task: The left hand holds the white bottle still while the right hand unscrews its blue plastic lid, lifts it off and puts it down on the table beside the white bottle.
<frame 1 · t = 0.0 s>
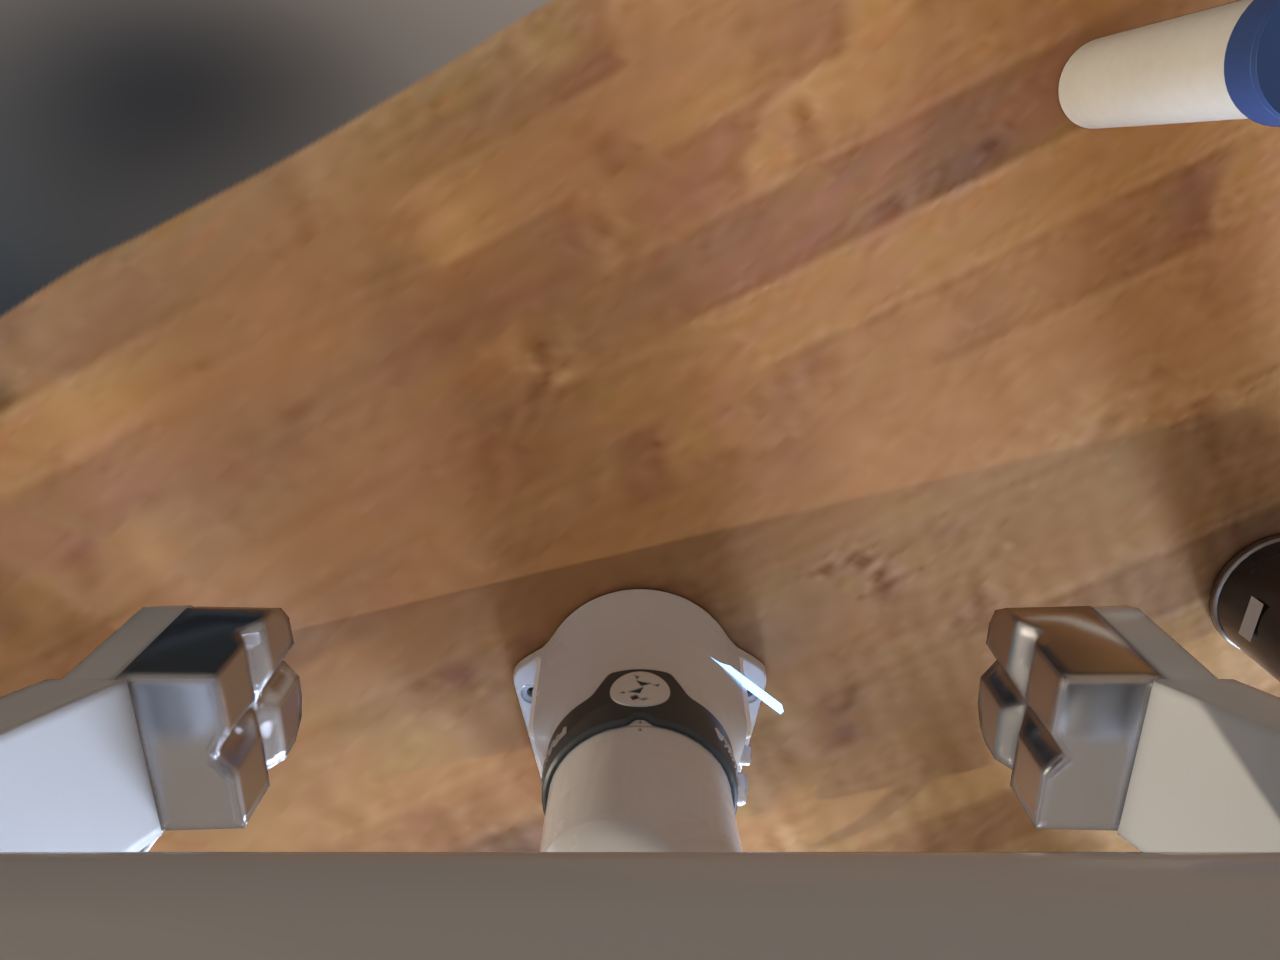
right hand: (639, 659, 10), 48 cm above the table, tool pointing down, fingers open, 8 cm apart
white bottle: (1100, 83, 52), on the table
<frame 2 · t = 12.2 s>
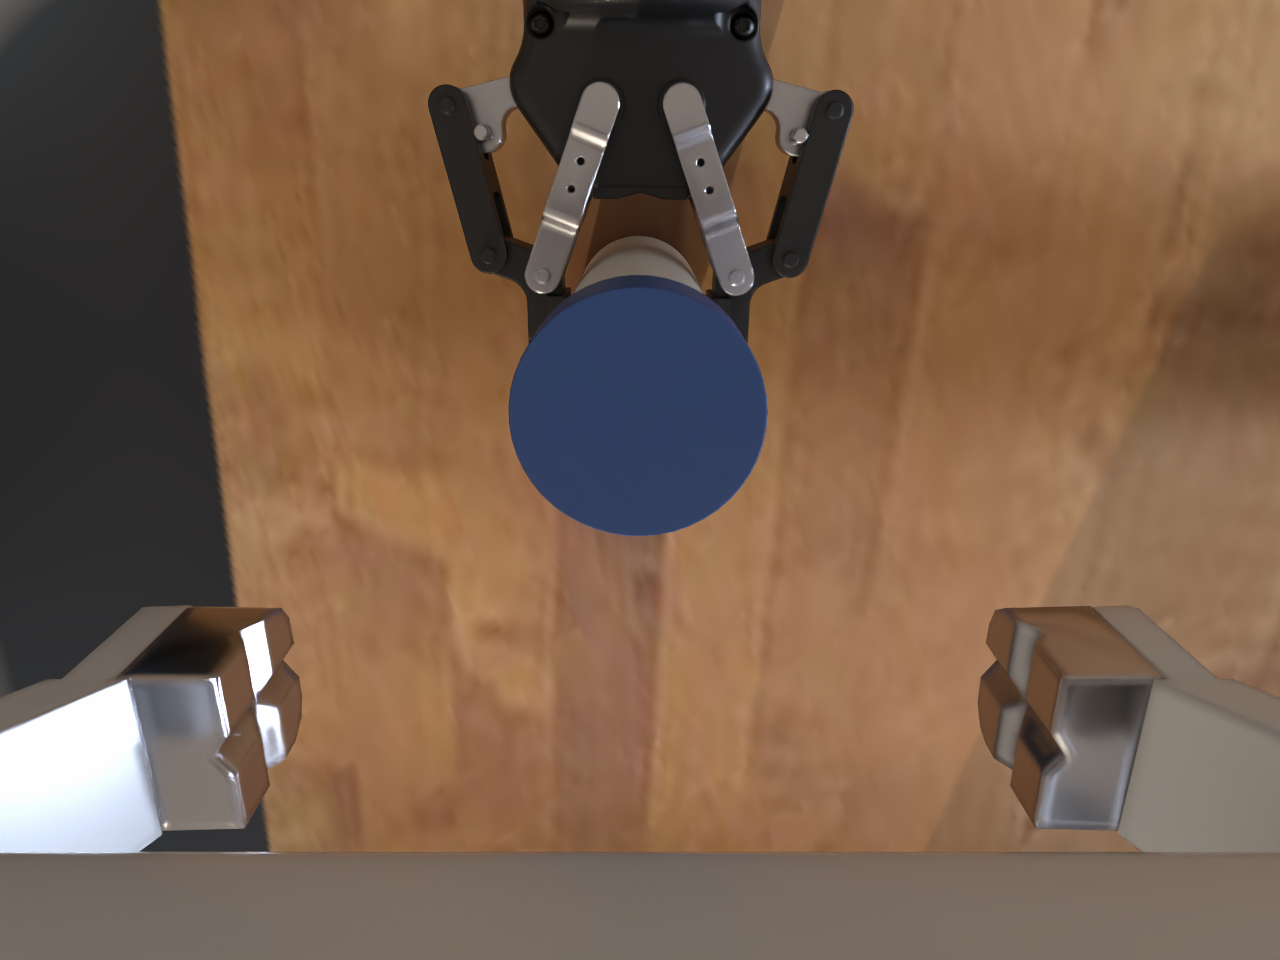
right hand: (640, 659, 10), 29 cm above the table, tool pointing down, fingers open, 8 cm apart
left hand: (638, 392, 32), fingers closed on white bottle, 5 cm apart
white bottle: (638, 296, 37), on the table, touching left hand
lid: (638, 413, 20), point 18 cm above the table, screwed on, not yet turned
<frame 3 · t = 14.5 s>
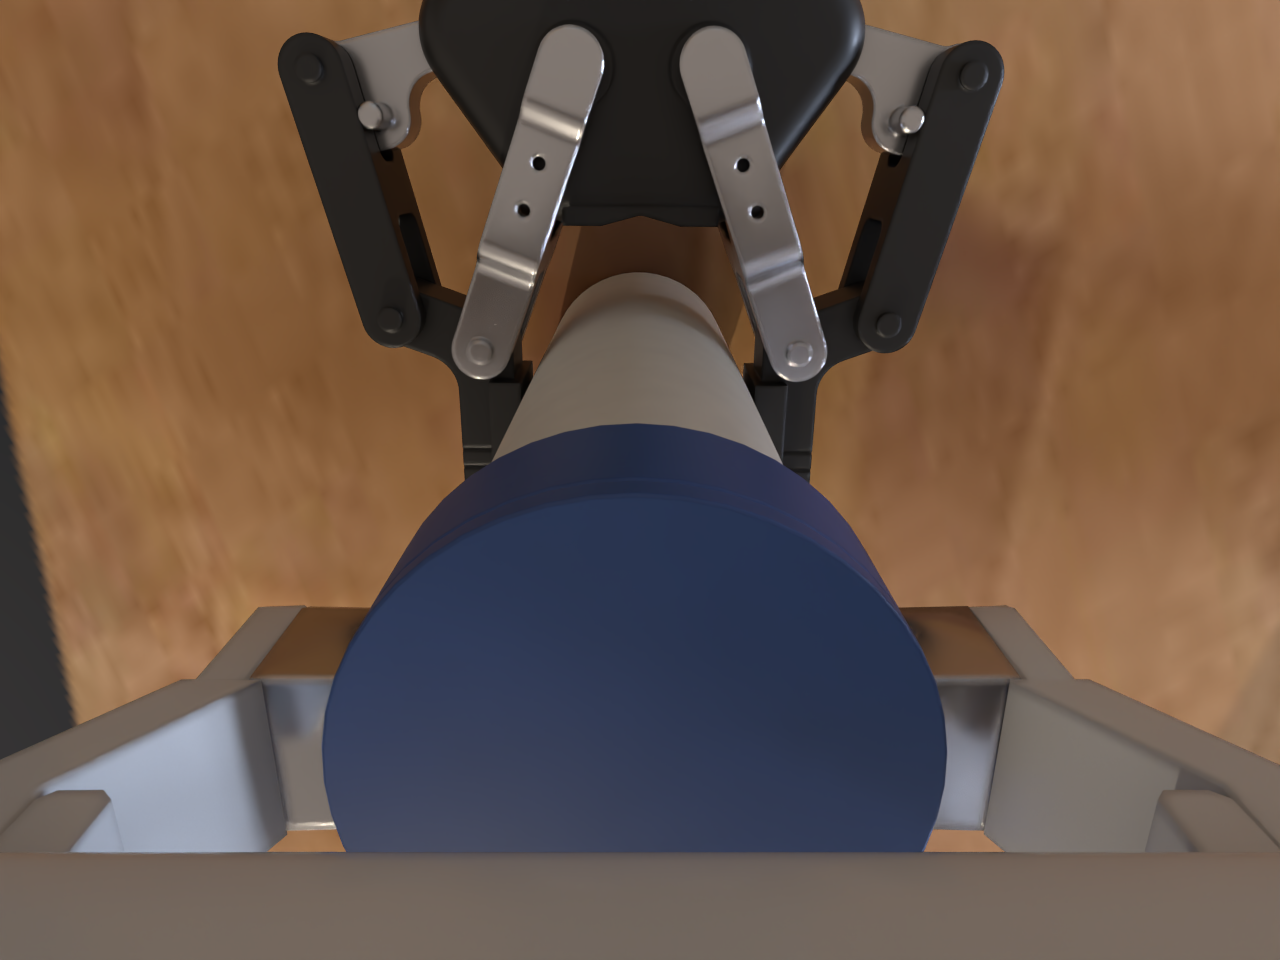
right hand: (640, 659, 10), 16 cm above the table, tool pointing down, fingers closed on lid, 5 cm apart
left hand: (638, 522, 21), fingers closed on white bottle, 5 cm apart
white bottle: (638, 359, 26), on the table, touching left hand
lid: (634, 760, 9), point 18 cm above the table, screwed on, not yet turned, touching right hand
when the right hand's fingers open (17 cm above the table, at t = 16.0 s): lid stays where it is, point 18 cm above the table.
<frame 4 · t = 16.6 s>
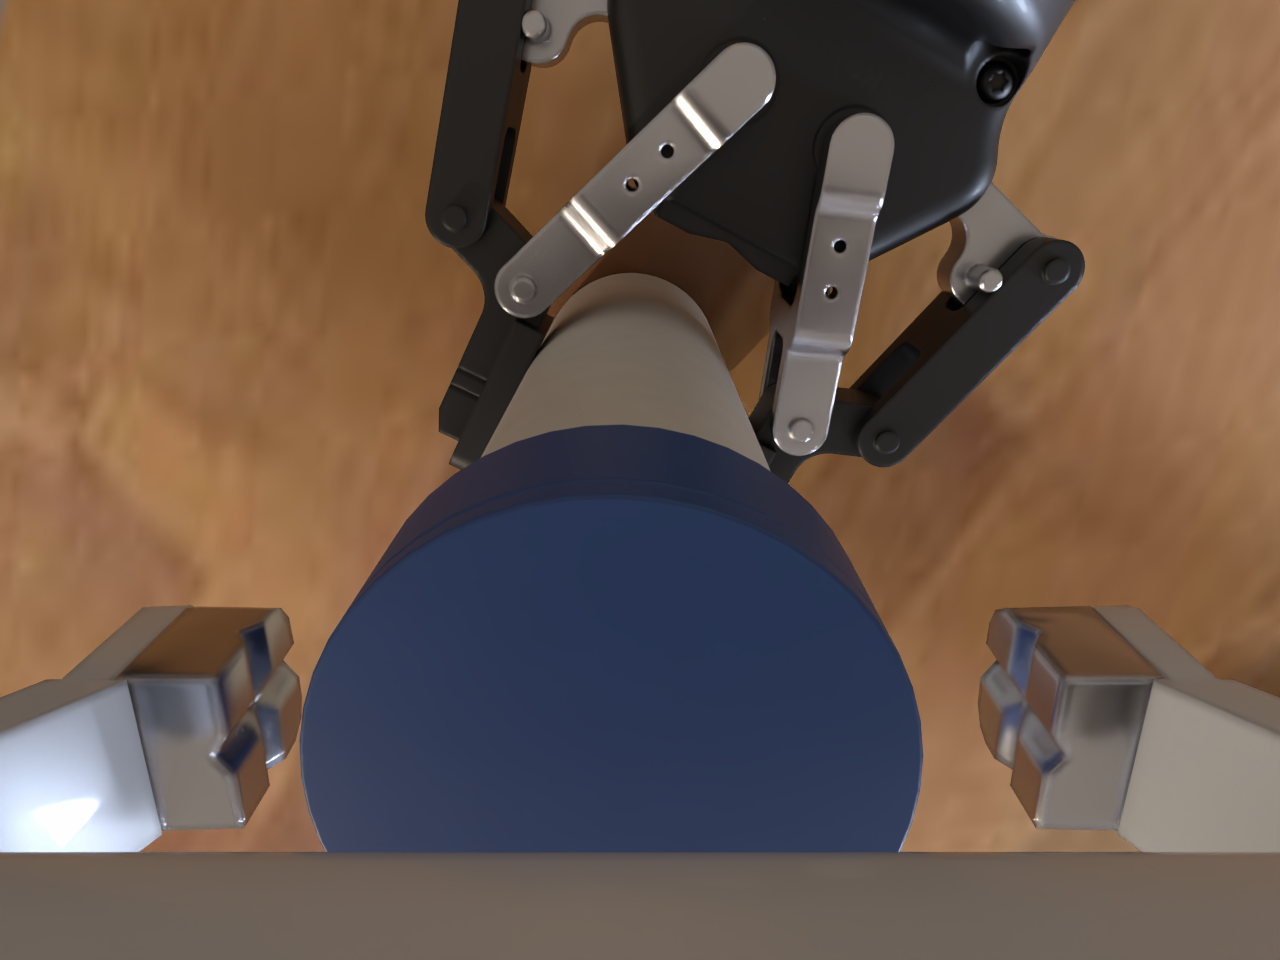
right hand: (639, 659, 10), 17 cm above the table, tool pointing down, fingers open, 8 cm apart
left hand: (580, 509, 21), fingers closed on white bottle, 5 cm apart
white bottle: (630, 358, 26), on the table, touching left hand
lid: (612, 760, 9), point 18 cm above the table, turned 75° so far, risen 0.2 cm, still on its thread
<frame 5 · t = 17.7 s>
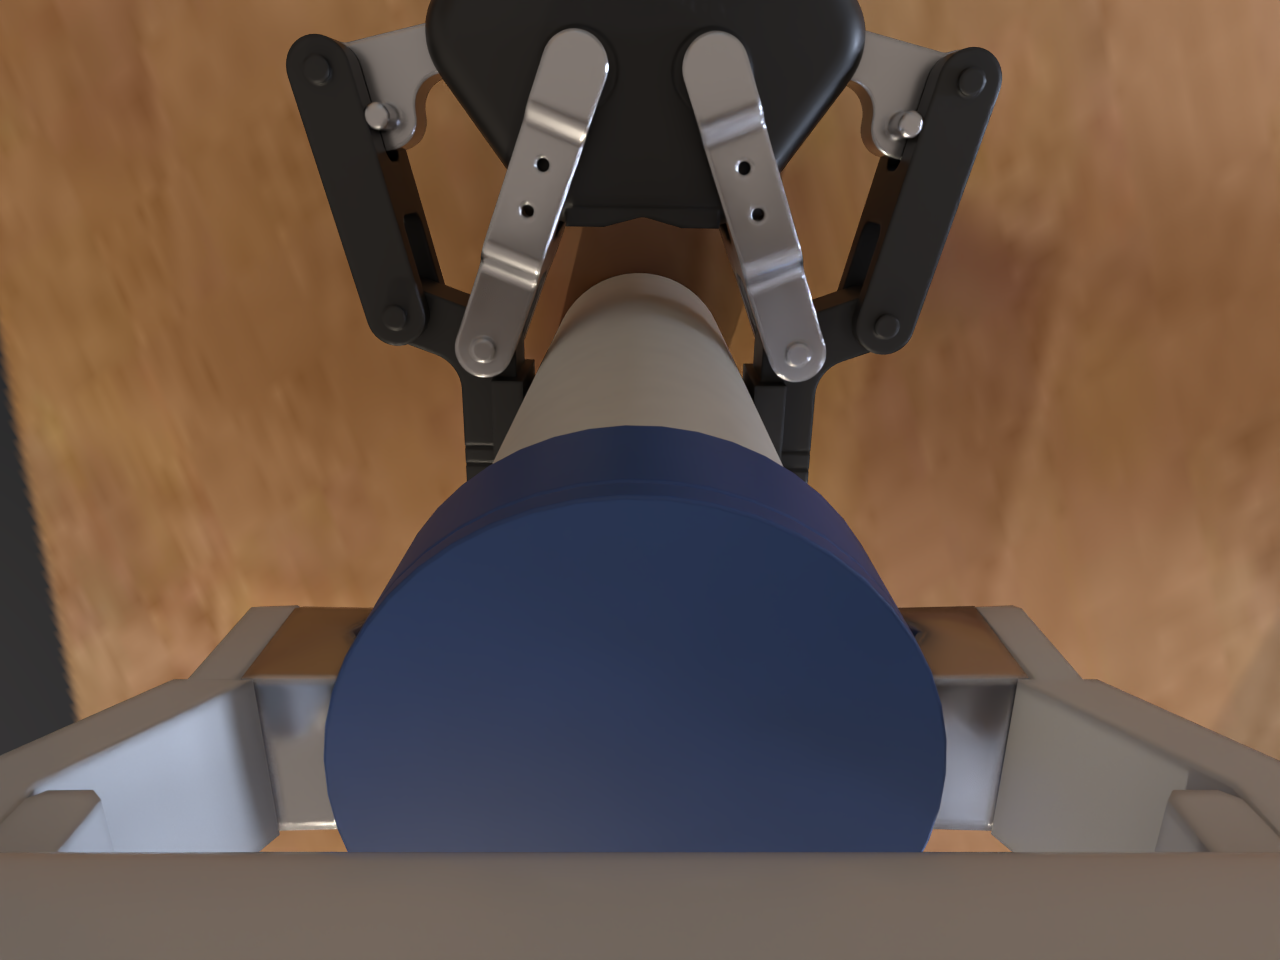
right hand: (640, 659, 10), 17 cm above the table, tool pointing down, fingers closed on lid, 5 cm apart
left hand: (637, 520, 21), fingers closed on white bottle, 5 cm apart
white bottle: (638, 359, 26), on the table, touching left hand
lid: (635, 761, 9), point 18 cm above the table, turned 75° so far, risen 0.2 cm, still on its thread, touching right hand
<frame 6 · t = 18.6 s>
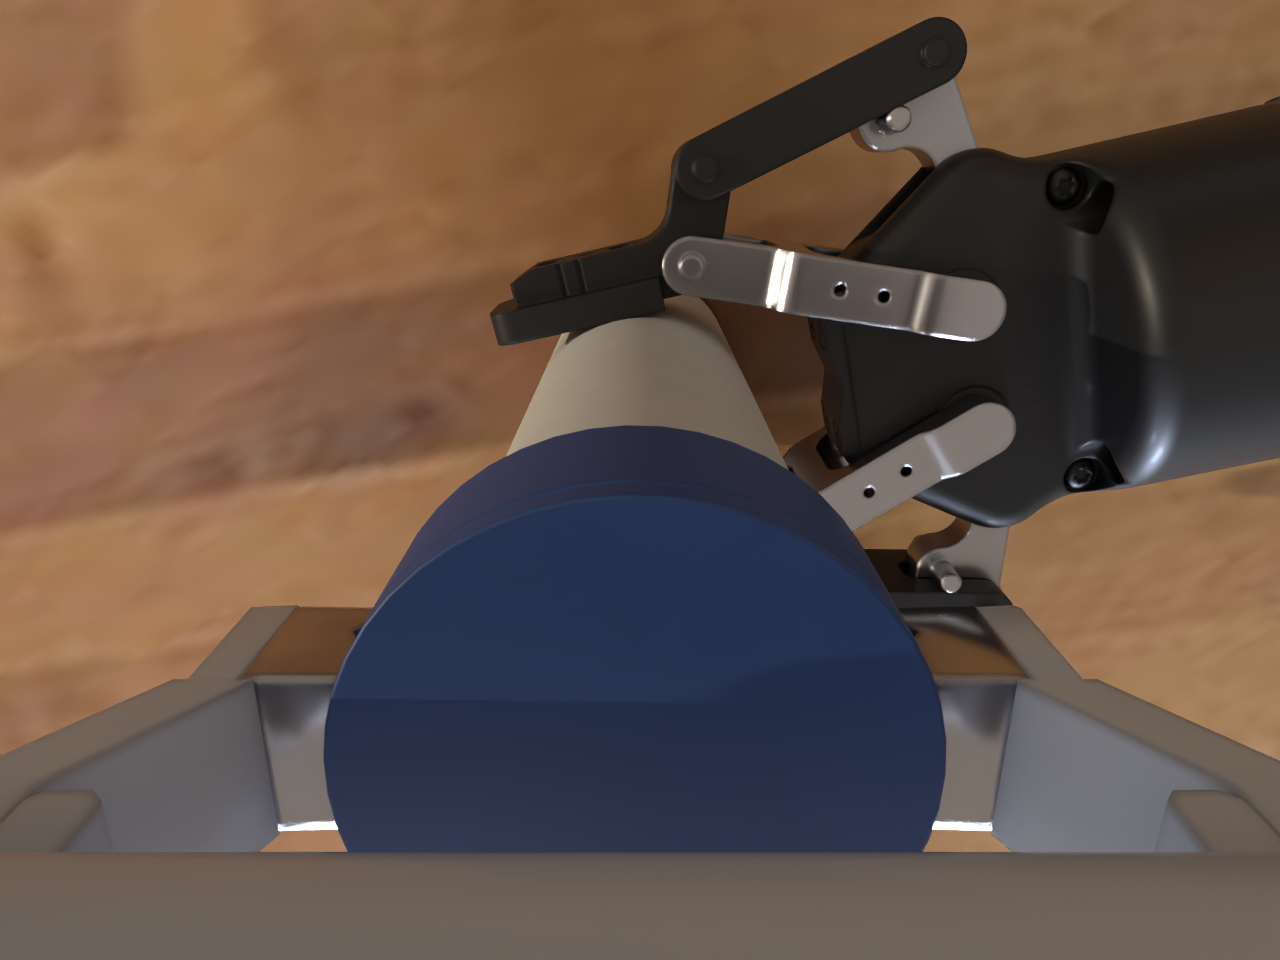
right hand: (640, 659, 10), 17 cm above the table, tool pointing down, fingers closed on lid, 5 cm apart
left hand: (534, 442, 20), fingers closed on white bottle, 5 cm apart
white bottle: (642, 361, 26), on the table, touching left hand
lid: (635, 761, 9), point 19 cm above the table, off its thread, touching right hand
when the right hand's fingers open (2 cm above the table, at t = 25.6 s): lid drops 2 cm, point 2 cm above the table.
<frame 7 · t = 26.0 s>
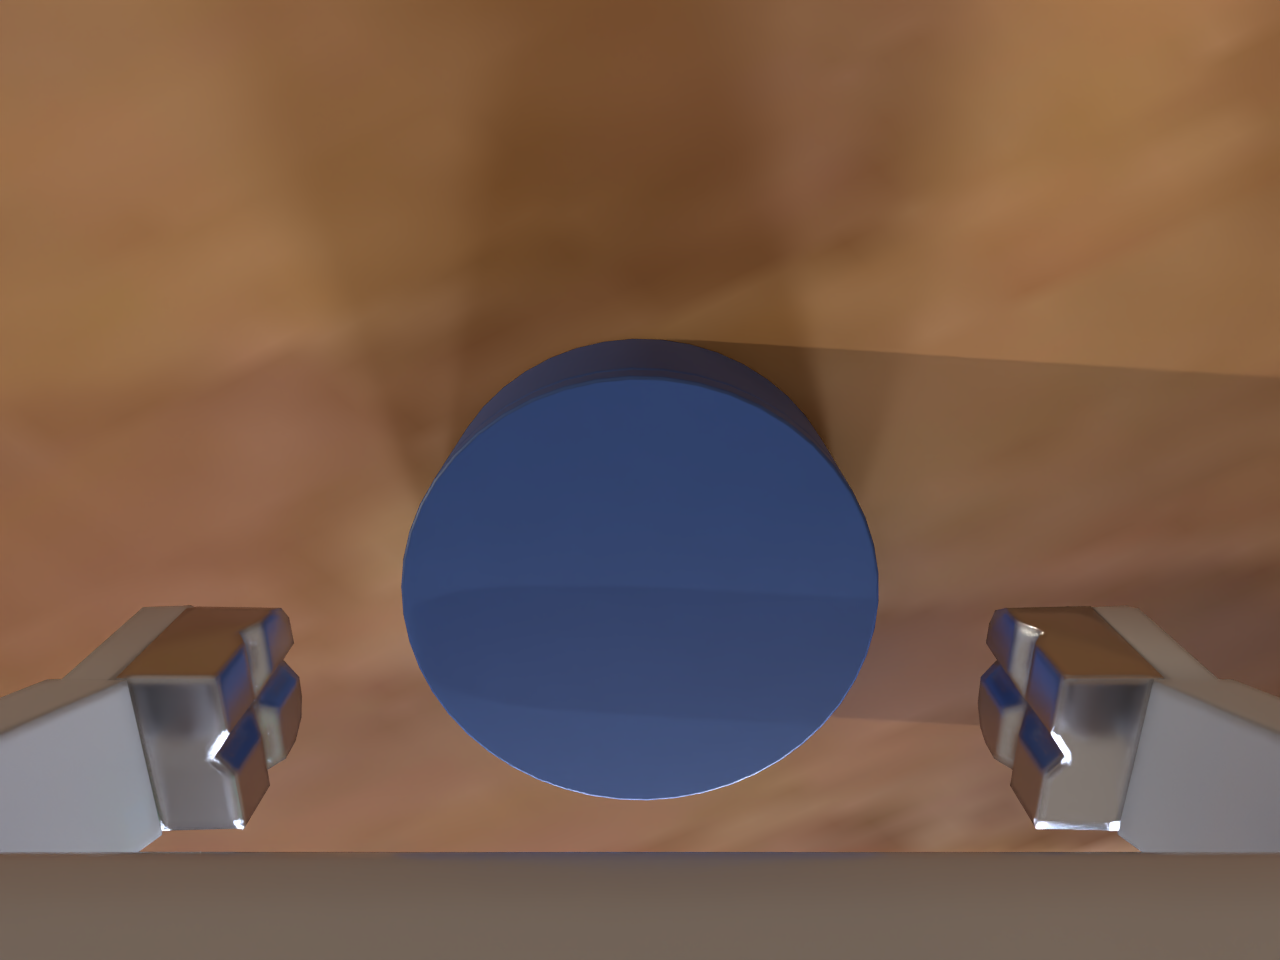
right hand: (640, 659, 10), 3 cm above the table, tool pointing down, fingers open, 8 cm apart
lid: (639, 595, 11), point 2 cm above the table, off its thread
when the left hand's fingers open (6 cm above the table, at t = 26.6 s): white bottle stays where it is, on the table.
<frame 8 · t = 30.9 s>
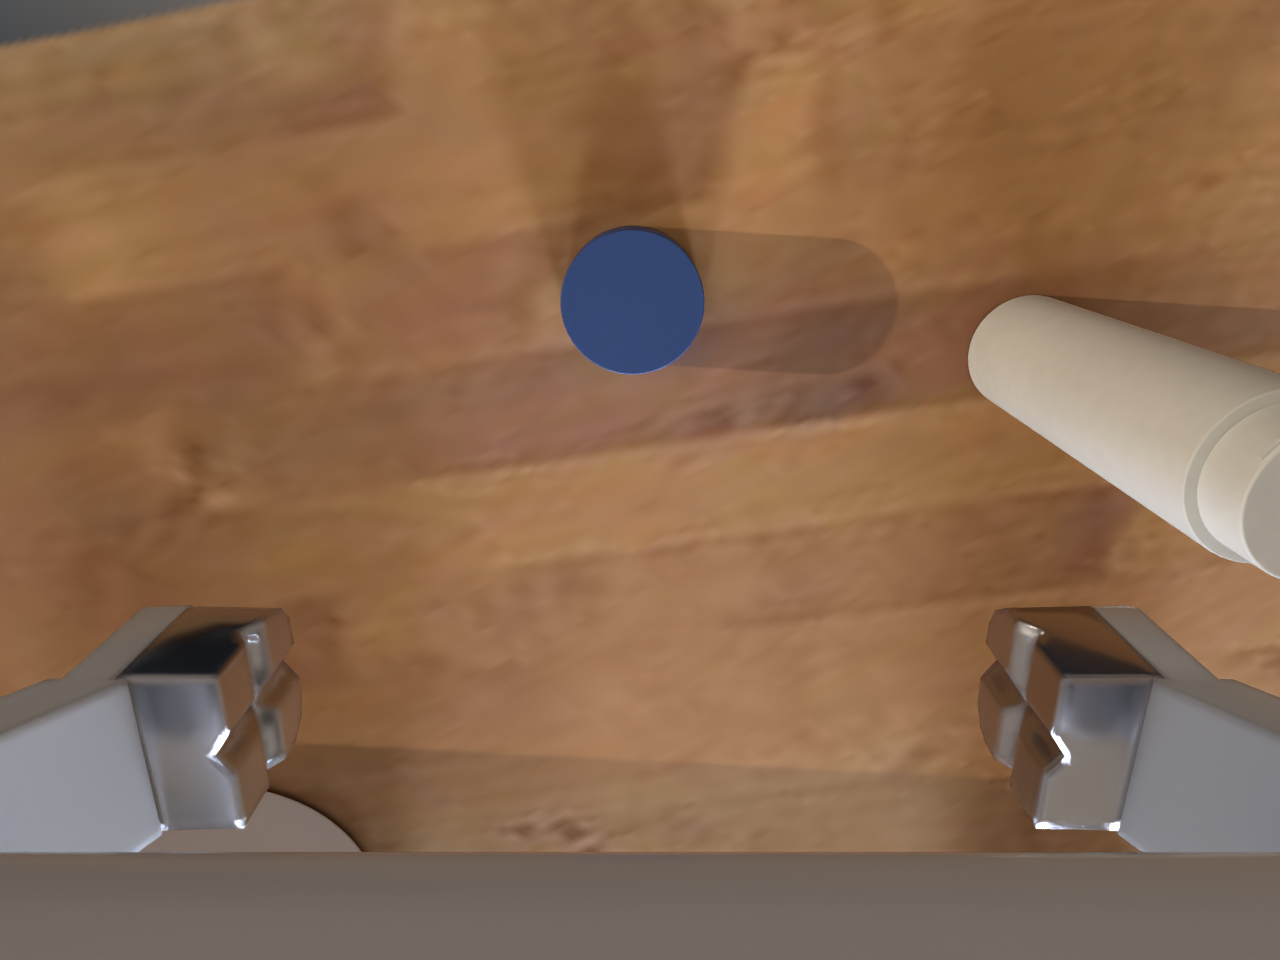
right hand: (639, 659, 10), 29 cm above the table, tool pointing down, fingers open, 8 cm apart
white bottle: (1024, 352, 38), on the table
lid: (632, 302, 36), point 2 cm above the table, off its thread
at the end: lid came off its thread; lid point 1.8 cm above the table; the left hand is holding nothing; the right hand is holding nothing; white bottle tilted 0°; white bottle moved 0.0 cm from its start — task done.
